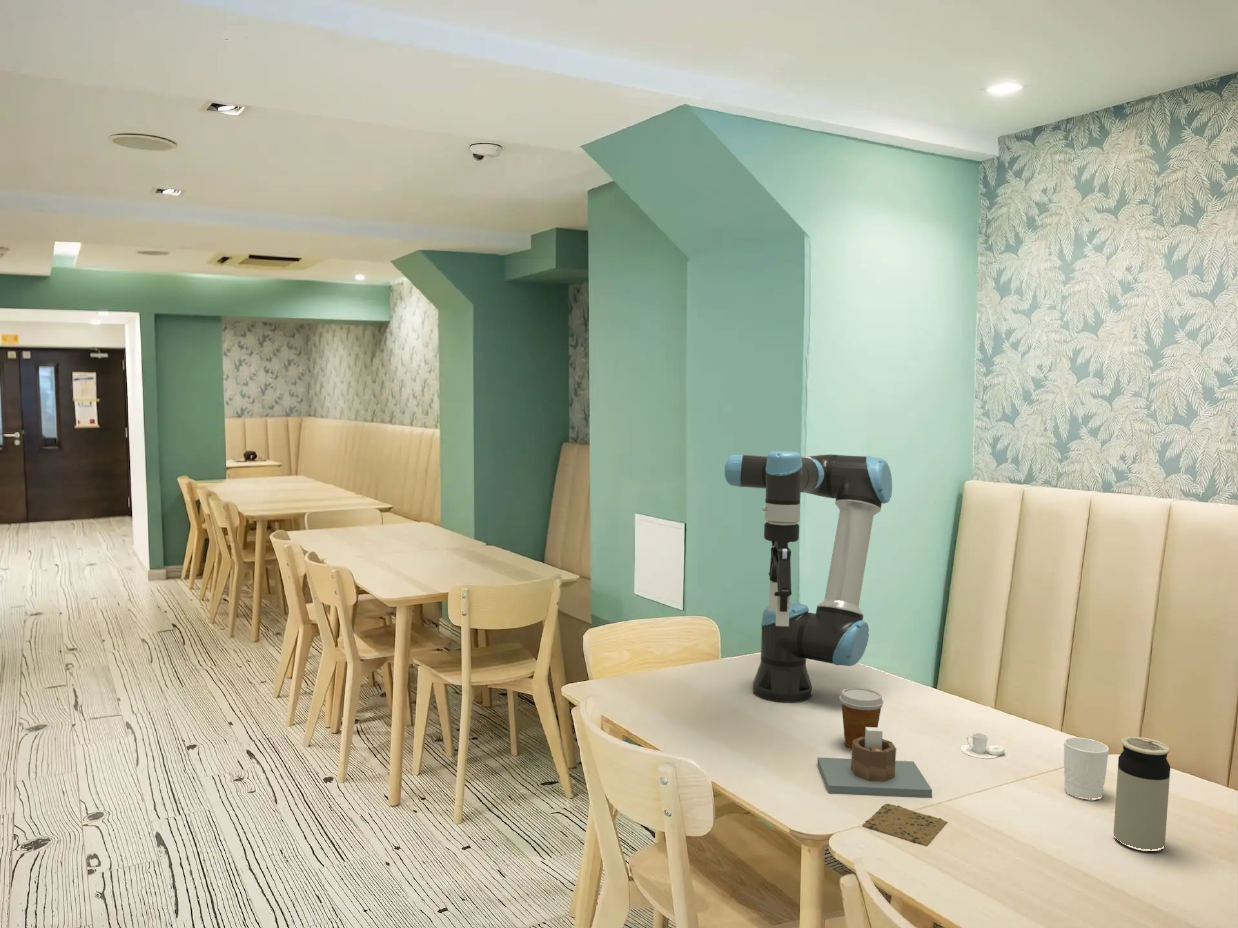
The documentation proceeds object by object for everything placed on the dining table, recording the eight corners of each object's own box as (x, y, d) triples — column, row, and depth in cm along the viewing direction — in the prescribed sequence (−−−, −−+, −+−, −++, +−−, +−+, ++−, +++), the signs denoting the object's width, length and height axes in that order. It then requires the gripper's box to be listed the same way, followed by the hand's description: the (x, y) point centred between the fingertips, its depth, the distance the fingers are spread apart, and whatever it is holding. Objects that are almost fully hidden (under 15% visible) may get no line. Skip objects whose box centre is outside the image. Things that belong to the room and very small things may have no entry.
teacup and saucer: (1008, 754, 205) (1009, 736, 205) (993, 764, 199) (994, 746, 199) (969, 743, 211) (970, 726, 211) (954, 753, 205) (955, 735, 205)
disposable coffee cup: (832, 749, 205) (834, 696, 204) (843, 735, 213) (845, 684, 212) (876, 758, 201) (878, 703, 200) (885, 743, 209) (888, 691, 208)
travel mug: (1143, 857, 160) (1150, 755, 158) (1103, 836, 167) (1109, 738, 165) (1175, 848, 163) (1182, 749, 161) (1133, 828, 170) (1140, 733, 169)
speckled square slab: (927, 849, 162) (928, 843, 162) (860, 828, 169) (860, 823, 169) (949, 824, 171) (949, 819, 171) (885, 805, 179) (885, 800, 179)
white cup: (1088, 805, 180) (1091, 755, 179) (1052, 789, 187) (1055, 740, 186) (1114, 797, 183) (1117, 748, 182) (1078, 782, 190) (1081, 734, 189)
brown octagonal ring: (848, 764, 193) (849, 735, 193) (888, 765, 193) (889, 736, 192) (856, 780, 185) (857, 750, 185) (897, 781, 185) (899, 751, 184)
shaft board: (817, 764, 197) (819, 715, 196) (913, 768, 196) (915, 719, 195) (828, 792, 183) (830, 740, 182) (931, 797, 182) (934, 745, 181)
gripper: (759, 514, 216) (756, 604, 217) (770, 530, 191) (767, 631, 192) (791, 515, 215) (788, 605, 217) (807, 531, 190) (803, 633, 192)
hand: (778, 618), depth 205 cm, fingers open, 13 cm apart
